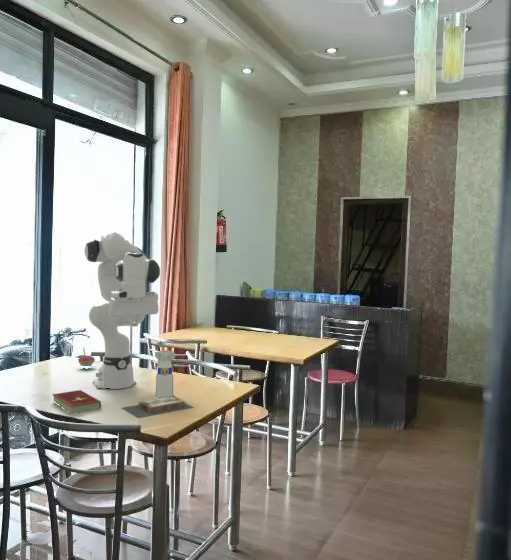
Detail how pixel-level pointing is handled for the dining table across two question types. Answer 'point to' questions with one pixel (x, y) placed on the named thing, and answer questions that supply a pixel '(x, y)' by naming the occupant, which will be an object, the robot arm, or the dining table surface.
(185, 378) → the dining table surface
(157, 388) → the grey tall piece
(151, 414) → the mat
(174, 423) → the dining table surface
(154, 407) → the board
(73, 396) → the hardcover book
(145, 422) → the dining table surface
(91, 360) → the cupcake
